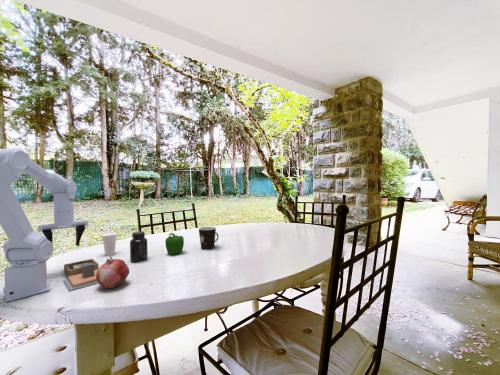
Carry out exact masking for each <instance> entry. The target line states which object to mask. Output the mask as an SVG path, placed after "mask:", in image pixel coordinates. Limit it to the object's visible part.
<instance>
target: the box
mask: <svg viewBox="0 0 500 375" xmlns="http://www.w3.org/2000/svg"><path fill="white" fill-rule="evenodd" d="M91 262H92V263H93V264H94V270H97V269H99V268H100V266H99V263H98V262H97V261H96V260H95V259H94V258H90V259H84V260H80V261H76V262H75V261H74V262H70V263H66V264H63V273H64V275H65V276H66V278H67V279H68V276H72V275H77V274H81V273H82V264H87V263H91Z"/></svg>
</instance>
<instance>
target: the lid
mask: <svg viewBox="0 0 500 375" xmlns="http://www.w3.org/2000/svg"><path fill="white" fill-rule="evenodd" d="M97 271H98V269H97V270H94V264H93V263H92V262H91V263H87V264H82V273H81V274H77V275H72V276H68V278H67V279H68V280H69V282H70V283H71V285H72V286H73V288H75V287H79V286H82V285H86V284H90V283H93V282H97V279H96V274H97Z"/></svg>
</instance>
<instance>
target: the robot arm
mask: <svg viewBox="0 0 500 375" xmlns="http://www.w3.org/2000/svg"><path fill="white" fill-rule="evenodd" d="M23 174H26V175H28V176H30V177H33V178H35V181H36V183H37V184H38V185H40V186H42V187H43V188H46V189H47V190H48V191H49V193H50V194H51V195H53V220H54V222H53V223H49V224H41V225H38V226H37V231H36V230H34V228H33V226H32V224H31V223H30V221H29V219H28V217H27V214H26V213H25V211H24V209H23V207H22V205H21V203H20V202H19V199H18V197H17V195H16V193H15V192H14V190H13V189H12V185H13V183H16V182H18V180H19V179H20V178H21V176H22V175H23ZM77 188H78V186H77V184H76V182H75V181H74V180H72V179H66V178H65V177H64V176H62V175H60V174H59V173H57V172H56V171H55V170H54V169H44V168H43V167H42V166H40V165H39V164H37V163H36V162H35V161H34V160H32V159H31V156H30V153H27V152H25V151H24V150H23V149H22V148H18V147H17V148H16V147H15V148H0V227H1V228H2V230H3V231H4V234H5V235H6V237H7V238H8V239H7V240H5V242H4V243H3V245H2V248H3V250H4V258H5V260H6V261H7V263H10V266H8V267H5V268H4V270H3V272H4V273H3V274H4V287H3V288H2V290H3V291H2V292H3V295H4V299H5V301H4V302H5V303H6V302H7V303H8V302H11V301H16V300H20V299H23V298H27V297H29V296H34V295H38V294H42V293H45V292H49V291H50V290H51V289H50V288H51V287H50V285H49V283H48V278H47V274H48V273H47V261H49V260H50V258H51V257H52V255H53V252H54V243H53V230H60V229H69V228H75V229H74V230H75V246H77V247H79V246H80V243H81V239H82V236H83V234H84V232H85V231H86V227H88V226H89V221H88V220H75V215H74V213H75V211H74V199H75V198H76V193H77ZM39 232H40V233H39ZM41 232H42V233H41Z"/></svg>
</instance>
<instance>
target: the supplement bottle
mask: <svg viewBox="0 0 500 375" xmlns="http://www.w3.org/2000/svg"><path fill="white" fill-rule="evenodd" d="M145 233H146V232H145V231H135V232H132V234H131V236H132V237H131V240H130V241H129V258H130V259H129V260H130V262H131V263H135V264H136V263H143V262H145V261H147V260H148V256H149V255H148V252H149V251H148V239H147V238H146V234H145Z"/></svg>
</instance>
